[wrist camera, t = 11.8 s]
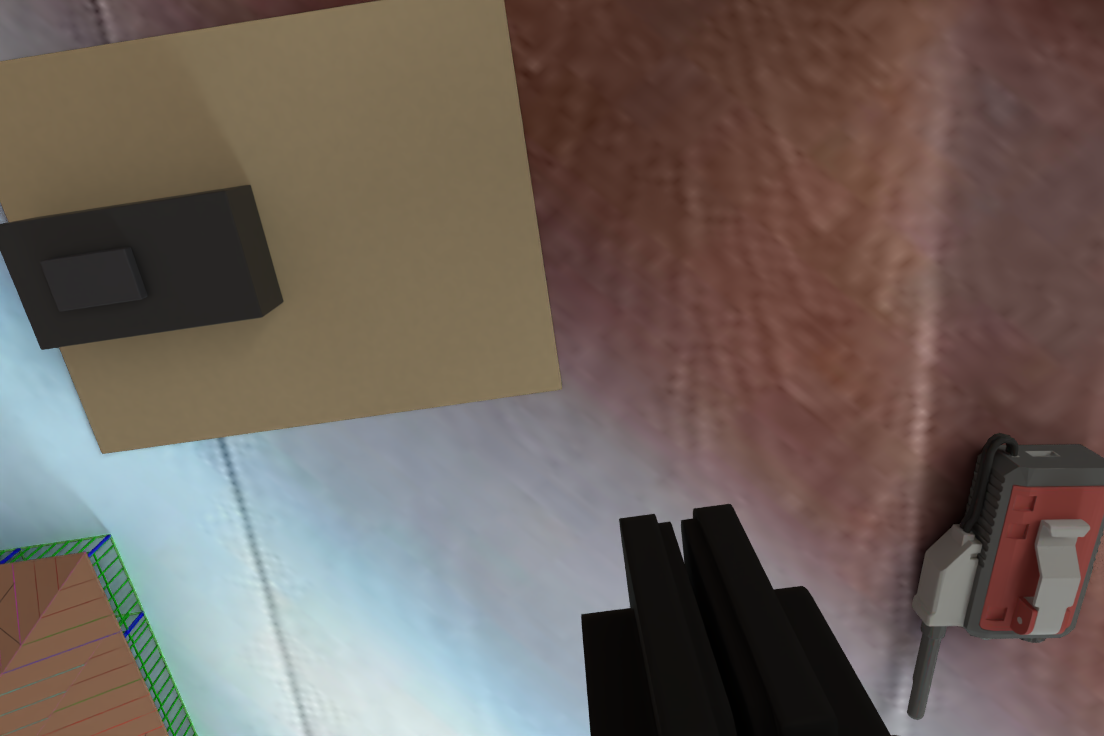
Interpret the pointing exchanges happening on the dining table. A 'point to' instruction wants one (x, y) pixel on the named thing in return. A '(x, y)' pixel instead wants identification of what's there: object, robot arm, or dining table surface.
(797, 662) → the robot arm
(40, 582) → the house
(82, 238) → the block
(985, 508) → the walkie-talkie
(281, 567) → the dining table surface
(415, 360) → the cork mat
